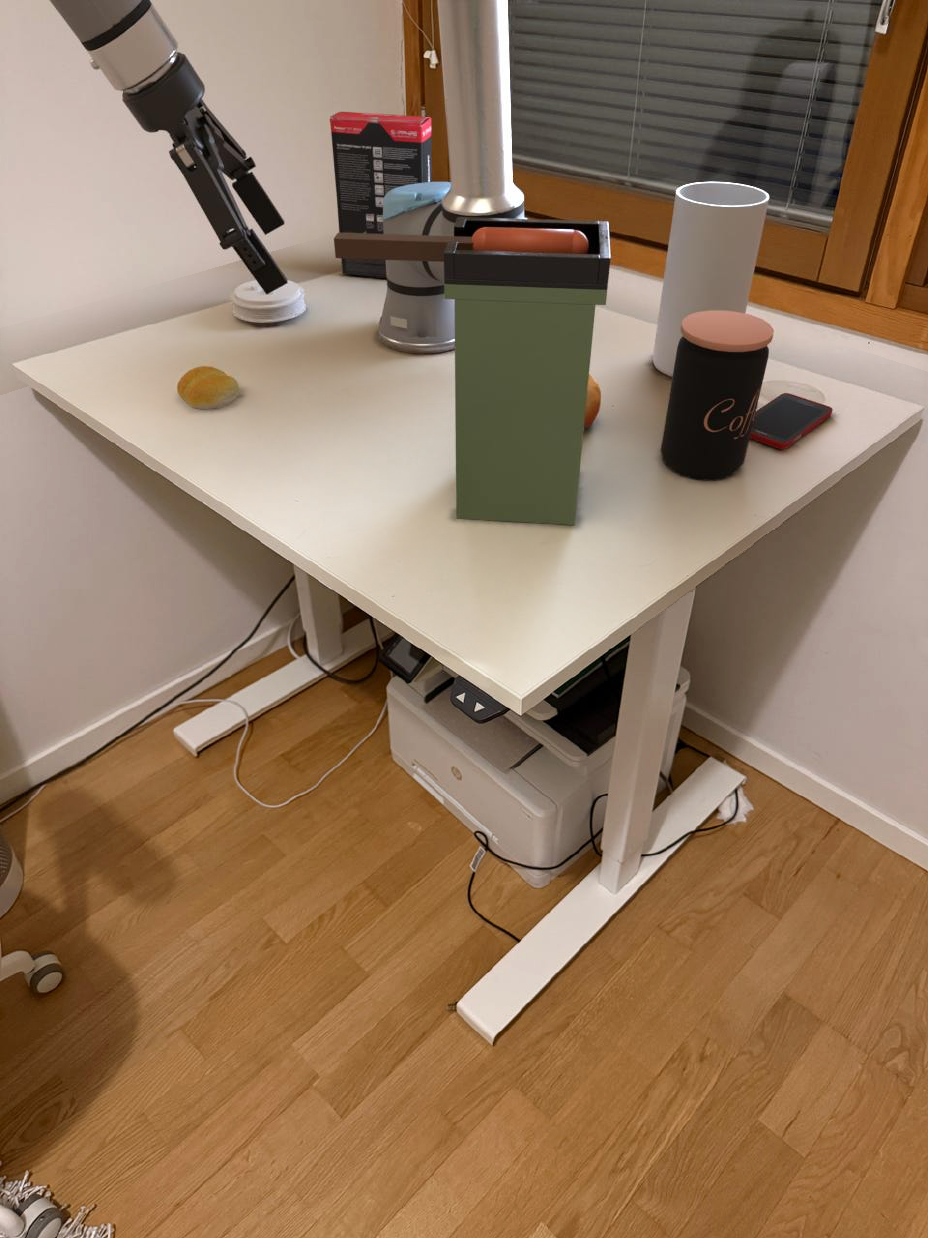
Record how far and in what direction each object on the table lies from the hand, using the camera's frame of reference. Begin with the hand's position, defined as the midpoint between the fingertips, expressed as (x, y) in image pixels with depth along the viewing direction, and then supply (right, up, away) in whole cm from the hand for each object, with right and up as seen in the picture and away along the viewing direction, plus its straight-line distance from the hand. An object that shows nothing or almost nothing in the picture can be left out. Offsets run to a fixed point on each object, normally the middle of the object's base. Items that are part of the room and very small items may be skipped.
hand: (276, 256), depth 100 cm
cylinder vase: (+57, -2, +37) cm, 68 cm away
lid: (-12, +12, +54) cm, 56 cm away
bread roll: (-16, -9, +29) cm, 34 cm away
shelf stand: (+28, -26, +8) cm, 39 cm away
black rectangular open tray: (+28, -5, -10) cm, 30 cm away
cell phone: (+66, -14, +22) cm, 71 cm away
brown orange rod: (+21, -4, -9) cm, 24 cm away
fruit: (+36, -14, +23) cm, 45 cm away
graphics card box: (+7, +25, +69) cm, 74 cm away
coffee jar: (+52, -21, +14) cm, 58 cm away
